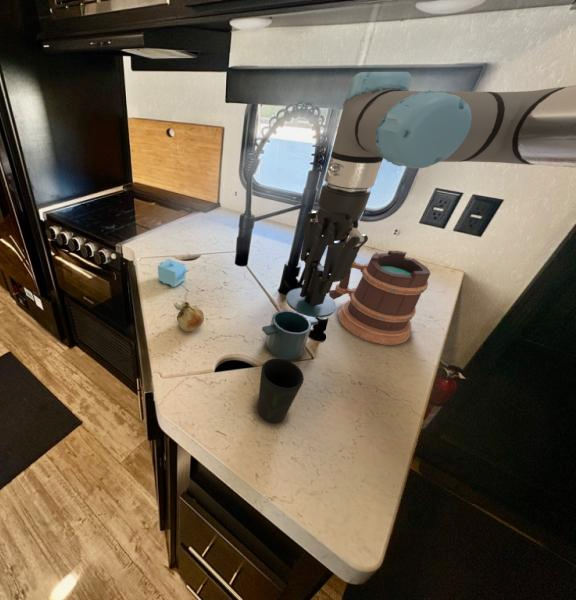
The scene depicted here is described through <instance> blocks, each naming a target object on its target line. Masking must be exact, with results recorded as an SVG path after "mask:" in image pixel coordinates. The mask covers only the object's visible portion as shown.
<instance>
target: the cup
mask: <svg viewBox="0 0 576 600" xmlns="http://www.w3.org/2000/svg"><path fill="white" fill-rule="evenodd" d="M260 371H261V372H260V378H259V379H260V380H259V391H258V399H257V400H258V401H257V413H258V415H259V417H260V418H261V419H262V420H263V421H265V422H267V423H270V424H279V423H281V422H282V421H283V420H284V419H285V418H286V416H287V414H288V411H289V410H290V409H291V406H292V404H293V402H294V400H295V398H296V397H297V395H298V394H299V391H300V389H301V387H302V385H303V383H304V380H305V378H304V376H305V375H304V372H303V371H302V370H301V368H300V367H299V366H297V364H295V363H294V362H292V361H291V360H288V359H282V358H279V357H277V358H271V359H268V360H266V361H264V362H263V364H262V366H261V370H260Z"/></svg>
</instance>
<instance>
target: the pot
mask: <svg viewBox="0 0 576 600" xmlns="http://www.w3.org/2000/svg"><path fill="white" fill-rule="evenodd" d="M318 324H319V320H318V319H317V317H310V316H306V315H303V314H300V313H298V312H296V311H295V310H285V309H283V310H279V311H277V312H275V313H274V314H272V317H271V321H270V325H269V324H268V325H264V326H262V328H261V331H262V332H263V333H264V334H265V335H266V336H267V338H266V348H267V350H268V351H269V353H271V354H272V355H273V356H275V357H277V358H278V359H284V360H288V361H291V360H296V359H299V358H300V357H301V356H302V355H303V353H304V351H305V348H306V345H307V341H308V339H309V336H310V333H311V329H312V326H315V325H318Z"/></svg>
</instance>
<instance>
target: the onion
mask: <svg viewBox="0 0 576 600" xmlns="http://www.w3.org/2000/svg"><path fill="white" fill-rule="evenodd" d="M173 307H174V308H175V309H176V310H177V311H178V314H177V316H176V321H177V323H178V326H179V327H180V329H182V331H183V330H184V331H185V332H193V331H196V330H199V329H200V327H201V326H202V325H203V323H204V321H205V314H204V312H203V310H202V309H201V308H199V307H198V306H196V305H192V306H191V304H190V302H189V301H184V302H182V303H181V305H180V304H178V302H174V303H173Z"/></svg>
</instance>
